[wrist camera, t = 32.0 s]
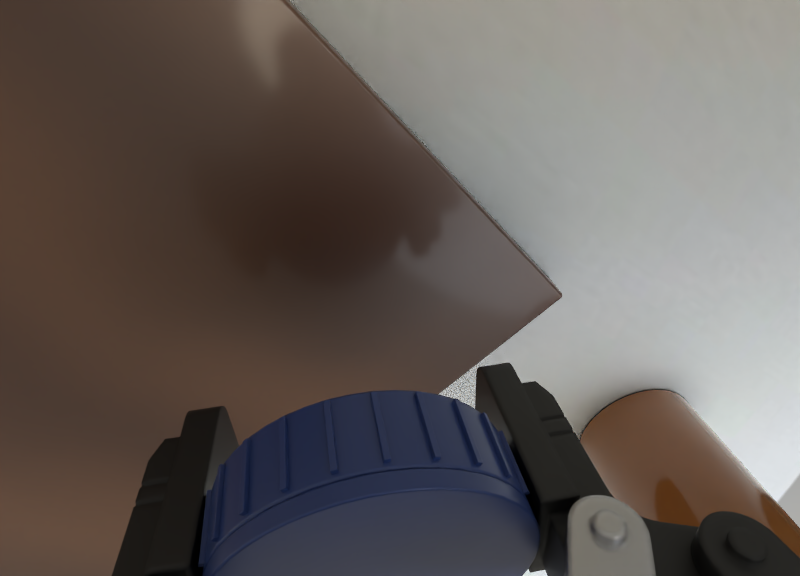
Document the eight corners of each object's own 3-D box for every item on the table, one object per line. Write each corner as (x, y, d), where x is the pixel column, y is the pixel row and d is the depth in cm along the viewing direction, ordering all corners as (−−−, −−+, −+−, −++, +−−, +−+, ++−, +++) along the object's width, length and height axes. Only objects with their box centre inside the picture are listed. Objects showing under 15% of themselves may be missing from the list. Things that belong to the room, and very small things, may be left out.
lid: (248, 584, 11) (244, 682, 10) (160, 424, 8) (135, 543, 6) (495, 528, 12) (524, 611, 11) (520, 358, 8) (570, 450, 7)
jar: (659, 370, 20) (907, 648, 12) (707, 424, 23) (940, 687, 14) (556, 440, 22) (714, 735, 13) (612, 484, 24) (775, 756, 16)
